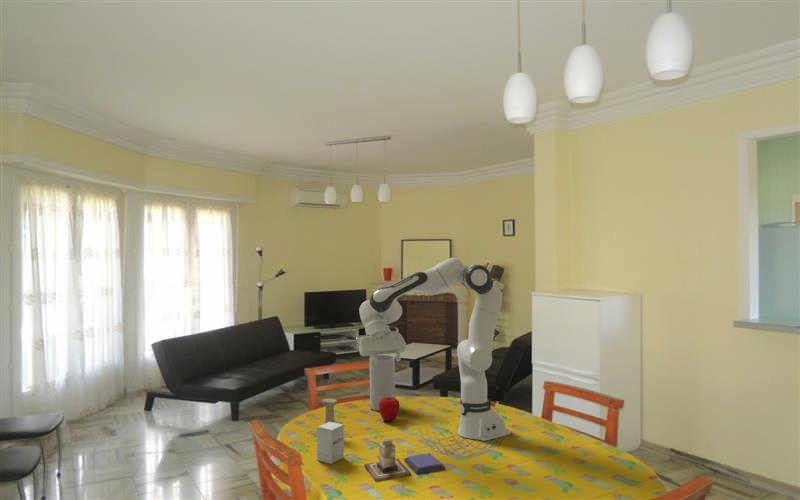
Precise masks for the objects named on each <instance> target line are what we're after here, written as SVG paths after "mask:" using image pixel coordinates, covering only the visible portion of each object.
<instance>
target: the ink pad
mask: <svg viewBox="0 0 800 500" xmlns="http://www.w3.org/2000/svg"><path fill="white" fill-rule="evenodd" d="M403 460H404V463H405V464H406V465H407V466H408V467H409V468H410V469H411V471H413V472H414V473H415V474H416V475H420V474H427V473H432V472H437V471H445V470H446V465H444V464H443V463H442V462H441V461H440V460H438V459H437V458H436V456H434V455H433V454H432V453H431V452H429V453H428V452H427V453H421V454H415V455H409V456H407V458H403Z"/></svg>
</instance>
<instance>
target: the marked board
mask: <svg viewBox="0 0 800 500" xmlns="http://www.w3.org/2000/svg"><path fill="white" fill-rule="evenodd" d="M395 461H396V465H397V466H398V470H396V471H391V472H385V473H383V472H382V471H381V470H380V469H379V468H378V467H377V463H379V461H376V462H370V463H364V468H365V469H366V471H367V472H368V473H369V475H370V476H371V478H372V479H373V481H374V482H380V481H386V480H391V479H397V478H403V477H408V476H412V473H411V472H412V471H410V470H409V469H408V468H407V466H405V465H404V463H403V462H402V461H401V460H400V459H399V458H395Z"/></svg>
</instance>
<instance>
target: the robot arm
mask: <svg viewBox="0 0 800 500" xmlns="http://www.w3.org/2000/svg"><path fill="white" fill-rule="evenodd" d="M457 283H461V284H462V286H464V287H465V288H467V289H469V290H471V291H472V292H473V291H474V293H475V297H476V298H475V303H474V306H473V309H472V313H471V315H470V316H471V317H470V319H469V323H468V337H467V339H463V340H461V341H460V342H459V343H458V344H457V348H456V354H457V359H458V361H457V362H458V369H459V378H460V399H459V412H460V419H459V420H460V421H459V425H458V430H457V435H459V436H460V437H463V438H466V439H469V440H470V439H471V440H479V441H483V442H484V441H485V442H486V441H489V440H493V439H498V438H502V437H506V436H509V435H511V434H512V433H511V429H510V428H509V427H507V426H506V425H505V424H506V423H505V419H504V417H503V416H502V415H500V414H499V413H498V412H497V411H495V410H494V409H492V408H495V407H496V405H497V403H496V402H495V401H493V400H489V399H488V380H487V377H486V372H485V371H487V370H488V369H489V368H490V367H491V365H492V364H493V363H492V362H493V356H492V353H493V352H492V351H493V344H494V336H495V330H496V327H497V322H498V320H499V315H500V312H501V308H502V302H503V292H502V290H501V289H500V288H499V287H497V286H495V285H493V284H494V283H493V280H492V275H491V272H490V270H489V269H488V268H487V267H486V266H484V265H481V264H472V265H465V264H464V263H463V261H462V260H461V259H459V257H450V258H447V259H446V260H443V261H441V262H439V263H437V264H435V265H434V266H432V267H431V268H429V269H426V270H424V271H418V272H415V273H412V274H410V275H408V276H405V277H404V278H402V279H399V280H397V281H396V282H394V283H392V284H389V285H386V286H383V287H379V288H377V289H375V290H374V291H373V292H372V294H371V296H370V298H369V299H367V300H364V302H362V303H361V305H360V306H359V309H358V310H359V311H358V312H359V317H360V320H361V321H360V322H361V323H362V325H363V327H364V330H365V334H363V335H360V334H359V335H357V337H356V338H355V341H356V344H357V345H358V351H359V355H360V356H361V357H369V359H370V358H371V359H372V360H374V362H375V364H379V362H380V360H379V358H376V357H375V356H377V355H389V354H394V355H396V356H394V357H395V361H396V362H401V359H402V358H401V356H400V355H401V353H404V351H406V348H407V343H406V341H405V338H404V337H403V335H402V334H401V333H400V332H399V328H398V327H396V326H395V327H394V326H390V324H393V323H395V322H397V321H399V319H400V318H401V317H402V315H403V307H402V305H401V304H400V303H399V301H398V300H397V299H398V298H400V297H402V296H404V295H407V294H408V293H410V292H412V291H417V290H420V291H422V292H425V293H427V294H431V295H437V294H439V293H440V294H441V293H442V292H445V291H446V290H447V289H448V288H450V287H452V286H453V285H455V284H457Z"/></svg>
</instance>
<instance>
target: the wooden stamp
mask: <svg viewBox="0 0 800 500" xmlns="http://www.w3.org/2000/svg"><path fill="white" fill-rule="evenodd" d="M378 444H379V445H378V455H379V457H378V458H379V461H378V462H379V463H377V467H378V468H379V469H380V470H381V471H382V472H383V473H385V472H391V471H396V470H398V466H397V465H396V461H395V459H396V444H395V443H393V439H392V438H389V437H388V438H387V437H386V438H382V439H381V442H379V443H378Z"/></svg>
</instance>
